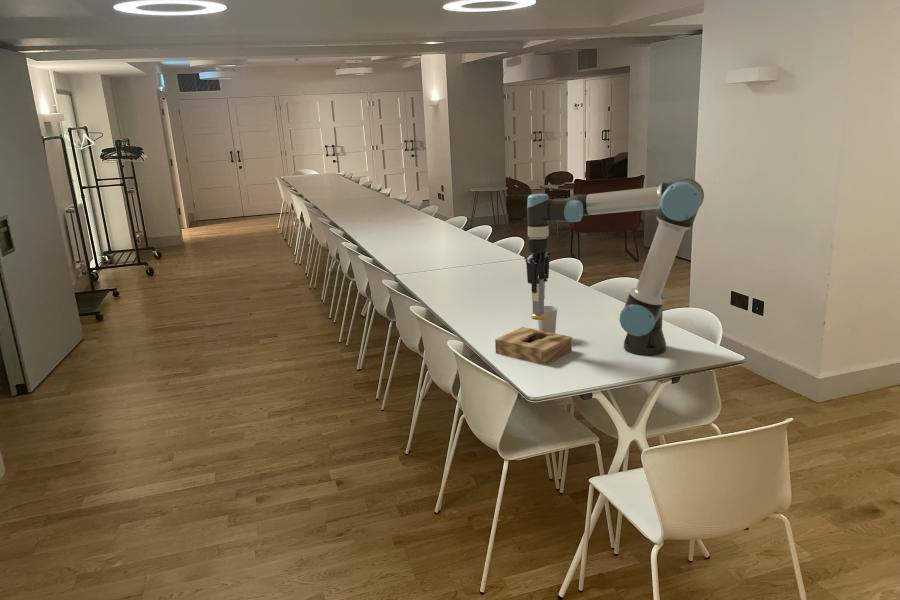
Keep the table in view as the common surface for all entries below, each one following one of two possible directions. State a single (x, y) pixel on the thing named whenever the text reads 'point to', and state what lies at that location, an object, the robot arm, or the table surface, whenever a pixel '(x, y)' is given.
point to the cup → (548, 319)
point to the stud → (539, 302)
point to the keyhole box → (533, 345)
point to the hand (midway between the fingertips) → (538, 299)
